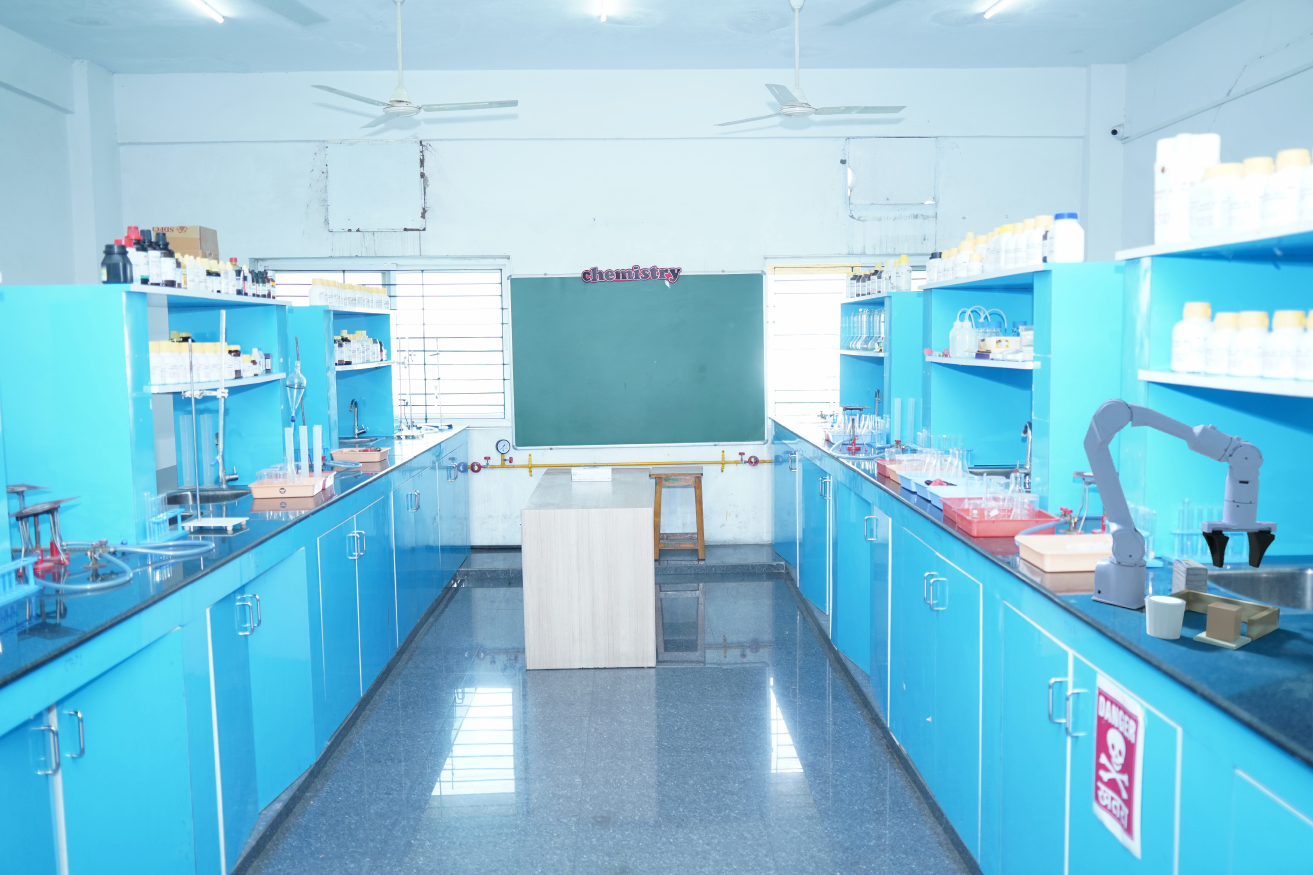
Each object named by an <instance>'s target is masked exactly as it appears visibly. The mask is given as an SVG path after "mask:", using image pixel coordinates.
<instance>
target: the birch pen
mask: <svg viewBox="0 0 1313 875" xmlns="http://www.w3.org/2000/svg"><path fill="white" fill-rule="evenodd" d="M1168 596H1171V597H1176V598H1179V599H1182V600H1184V601H1186V604H1185V610H1184V612H1186V611H1192V612H1196V613H1201V614H1204V615H1205V614H1206V615H1207V612H1208V605H1210V604H1212V603H1213V602H1215V601H1217V602H1222V603H1227V604H1233V605H1238V606H1242V619H1241V623H1247V624H1246V636H1245V637H1249V638H1251V641H1250V642H1254V641H1256V640H1258V639H1259V638H1262V637H1264V636H1266V635H1267V634H1270V633H1271V632H1274V631H1275V630H1277V629H1279V627H1280V625H1279V624H1280V613H1281V607H1276V606H1272V605H1267V604H1261V603H1256V602H1252V601H1246V600H1240V599H1236V598H1232V597H1227V596H1222V595H1216V594H1211V593H1208V592H1207V593H1202V592H1197V591H1193V590H1188V589H1184V590H1182V591H1179V592H1176V593H1174V594H1172V593H1171V594H1169V595H1168Z"/></svg>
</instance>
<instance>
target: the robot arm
mask: <svg viewBox="0 0 1313 875" xmlns="http://www.w3.org/2000/svg"><path fill="white" fill-rule="evenodd" d="M1130 422H1131V425H1130V426H1131V428H1134V427H1135V428H1136V427H1137V428H1138V427H1149V428H1152V429H1155V430H1158V431H1159V432H1162V433H1165V434H1167V435H1171V436H1173V437H1175V438H1177V439H1180V440H1183V441H1185V442H1186V444H1187V448H1188V449H1189V450H1191V451H1193V452H1195V453H1198V454H1200V455H1203V456H1205V457H1207V458H1209V459H1212V460H1214V461H1216V462H1219V463H1228V466H1227V476H1226V478H1225V486H1224V487H1225V488H1224V500H1223V513H1222V514H1223V516H1222V519H1221V520H1210V521H1201V526H1200V528H1201V529H1200V531H1201V532H1202V533H1201V534H1202V536H1203V538H1204V539H1205V542H1206V545H1207V546H1208V549H1209V552H1210V556H1211V559H1212V560H1211V561H1212V566H1213V567H1215V568H1218V569H1222V568H1224V564H1225V554H1226V549H1227V546H1228V542H1229V540H1230V536H1228V535H1225V533H1246V534H1247V540H1248V566H1250V567H1252V568H1256V569H1257V568H1260V566H1261V563H1262V560H1263V558H1264V556H1265V554H1266V552H1267V550H1268V548H1270V546H1271V544H1272V543H1273V542H1274V541H1275V540H1276V535H1275V534H1274V533H1277V529H1278V523H1276V522H1273V521H1265V520H1264V521H1263V520H1262V521H1261V520H1257V516H1258V515H1257V513H1258V504H1259V503H1258V502H1259V489H1260V479H1259V477H1260V468H1261V467H1262V466H1263V464H1264V461H1265V460H1264V457H1263V454H1262V452H1261V450H1260V449H1259V448H1258V447H1257V446H1256V445H1255V444H1253V443H1251V442H1249V441H1248V440H1245V439H1243V440H1242V437H1241V436H1239V435H1235V436H1233V435H1230V434H1228V433H1226V432H1223V431H1220V430H1218V429H1217V428H1218V427H1217V426H1216V425H1214V424H1211V423H1210V424H1209V425H1205V424H1200V425H1197V426H1191V425H1190V424H1187V423H1184V422H1182V421H1179V420H1177V419H1175V418H1172V417H1170V416H1168V415H1166V414H1164V413H1161V412H1159V411H1157V410H1155V409H1152V408H1150V407H1148V406H1146V405H1145V406H1144V405H1141V404H1138V403H1134V402H1130V401H1128V403H1127V402H1126V401H1125V400H1123V399H1121V398H1118V397H1117V398H1114V397H1113V398H1109V399H1106V400H1105V401H1104V402H1102V403H1101V404H1100V406H1098V408H1096V411H1095V412H1094V413H1093V415H1092V417H1091V420H1090V422H1089V426H1088V427H1087V431H1086V433H1085V436H1084V439H1083V442H1082V443H1083V444H1082V445H1083V448H1084V450H1085V451H1084V452H1085V454H1086V457H1087V459H1088V460H1087V461H1088V464H1089V467H1090V470H1091V473H1092V476H1093V479H1094V483H1095V485H1096V488H1097V491H1098V493H1099V494H1098V495H1099V497H1100V500H1101V503H1102V505H1103V506H1102V507H1103V509H1104V512H1105V515H1106V519H1107V522H1108V526H1109V530H1110V533H1111V534H1110V535H1111V537H1112V545H1111V555H1110V556H1109V557H1108V558H1106V557H1105V558H1104V557H1103V558H1100V559H1099V560H1098V561H1097V562H1096V565H1095V568H1094V569H1095V570H1094V576H1093V594H1092V595H1093V596H1092V597H1091V600H1092V601H1096V602H1101V603H1105V604H1110V605H1114V606H1118V607H1124V608H1127V609H1131V610H1137V609H1141V608H1143V607H1146V599H1145V591H1146V576H1147V575H1146V573H1147V561H1146V560H1145V559H1144V557H1145V554H1146V542H1145V538H1144V535H1143V534H1142V532H1140V531H1139V530H1138V529H1137V528H1136V525H1135V522H1134V519H1133V517H1132V515H1131V512H1130V509H1129V505H1128V503H1127V500H1126V496H1125V493H1124V491H1123V488H1122V485H1121V482H1120V479H1119V475H1118V472H1117V470H1116V466H1115V463H1114V461H1113V458H1112V455H1111V452H1110V449H1109V445H1110V444H1111V442H1112V441H1113V439H1114V438H1115V436H1116V435H1117V433H1119V432H1120V431H1122V429H1124V428H1125V427H1126V426H1128V425H1129V423H1130Z"/></svg>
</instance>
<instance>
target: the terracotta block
mask: <svg viewBox="0 0 1313 875" xmlns="http://www.w3.org/2000/svg"><path fill="white" fill-rule="evenodd" d="M1241 619H1242V606H1238V605H1233V604H1227V603H1222V602H1217V601H1215V602H1213V603H1212V604H1210V605H1208V612H1207V614H1206V628H1205V631H1206V637H1210V638H1214V639H1219V640H1224V641H1228V642H1234V641H1236V640H1237V639H1238V638H1240V636H1241V629H1242V621H1241Z"/></svg>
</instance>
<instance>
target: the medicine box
mask: <svg viewBox="0 0 1313 875" xmlns="http://www.w3.org/2000/svg"><path fill="white" fill-rule="evenodd" d="M1172 565H1173V566H1172V578H1171V579H1172V581H1171V594H1174V593H1176V592H1179V591H1182V590H1184V589H1188V590H1193V591H1197V592H1202V593H1207V594H1208V578H1209V576H1208V575H1209V568H1208V567H1207V566H1205V565H1203V564H1202V563H1200V562H1198V561H1196V559H1187V558H1175V559H1173V564H1172Z"/></svg>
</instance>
